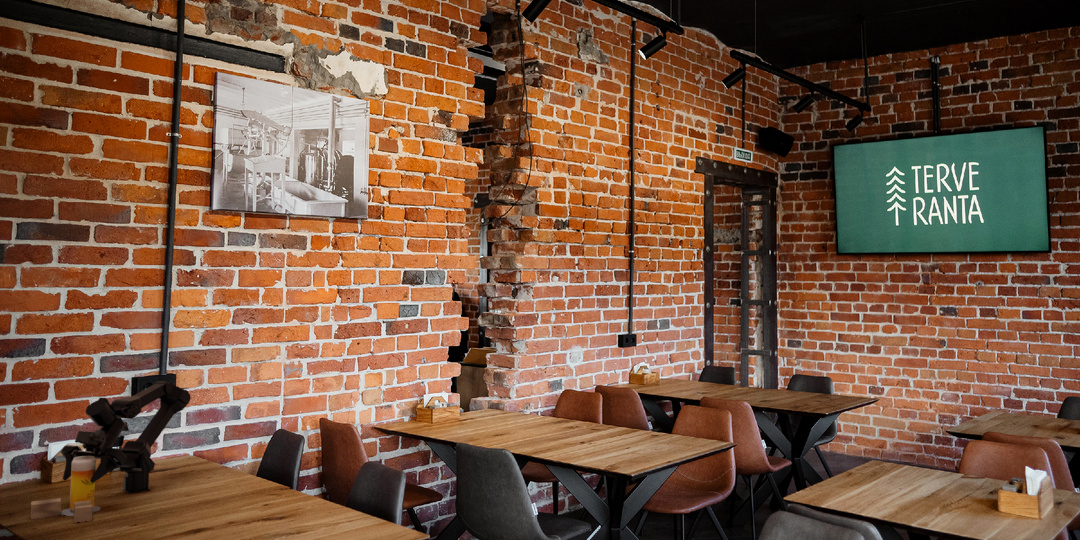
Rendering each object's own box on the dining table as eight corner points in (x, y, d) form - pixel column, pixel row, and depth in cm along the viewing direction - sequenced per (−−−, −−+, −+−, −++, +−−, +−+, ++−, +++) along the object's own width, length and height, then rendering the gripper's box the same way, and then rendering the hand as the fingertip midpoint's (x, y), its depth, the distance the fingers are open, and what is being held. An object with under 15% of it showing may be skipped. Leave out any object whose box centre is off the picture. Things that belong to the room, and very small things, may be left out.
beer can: (92, 511, 220) (94, 458, 221) (67, 513, 218) (70, 460, 219) (95, 506, 226) (97, 455, 227) (71, 507, 224) (73, 456, 225)
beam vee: (64, 503, 228) (65, 490, 229) (122, 508, 225) (123, 494, 225) (22, 518, 214) (22, 504, 214) (83, 523, 210) (84, 509, 210)
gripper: (66, 418, 228) (34, 463, 217) (121, 421, 224) (91, 467, 213) (86, 439, 235) (55, 484, 224) (139, 442, 232) (111, 488, 221)
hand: (77, 480), depth 220 cm, fingers open, 9 cm apart
